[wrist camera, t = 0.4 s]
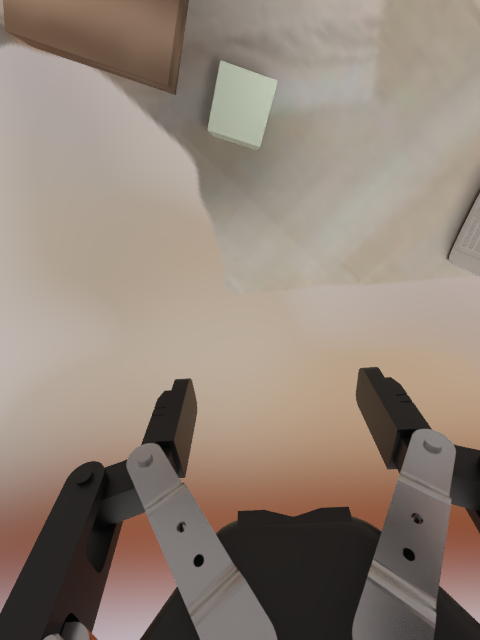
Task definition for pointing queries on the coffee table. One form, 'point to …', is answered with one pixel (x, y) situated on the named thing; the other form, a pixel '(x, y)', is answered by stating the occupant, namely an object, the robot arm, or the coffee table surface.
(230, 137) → the sage block
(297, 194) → the coffee table surface
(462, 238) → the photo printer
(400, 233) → the coffee table surface
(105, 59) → the walnut block
